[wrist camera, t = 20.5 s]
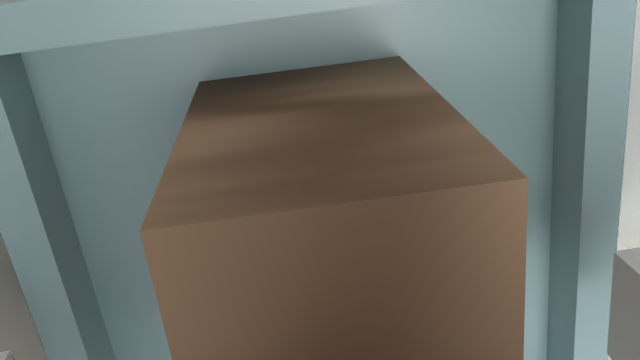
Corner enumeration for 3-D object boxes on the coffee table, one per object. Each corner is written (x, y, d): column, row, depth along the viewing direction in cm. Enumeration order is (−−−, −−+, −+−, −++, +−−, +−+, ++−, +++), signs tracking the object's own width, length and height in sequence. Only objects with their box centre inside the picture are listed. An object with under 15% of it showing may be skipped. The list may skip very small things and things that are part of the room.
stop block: (244, 316, 18) (231, 593, 10) (199, 81, 15) (140, 230, 8) (413, 292, 18) (518, 546, 11) (399, 55, 15) (528, 178, 8)
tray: (126, 460, 21) (109, 528, 18) (-26, 0, 15) (-80, 14, 12) (563, 391, 21) (600, 448, 19) (585, -81, 15) (643, -82, 13)
